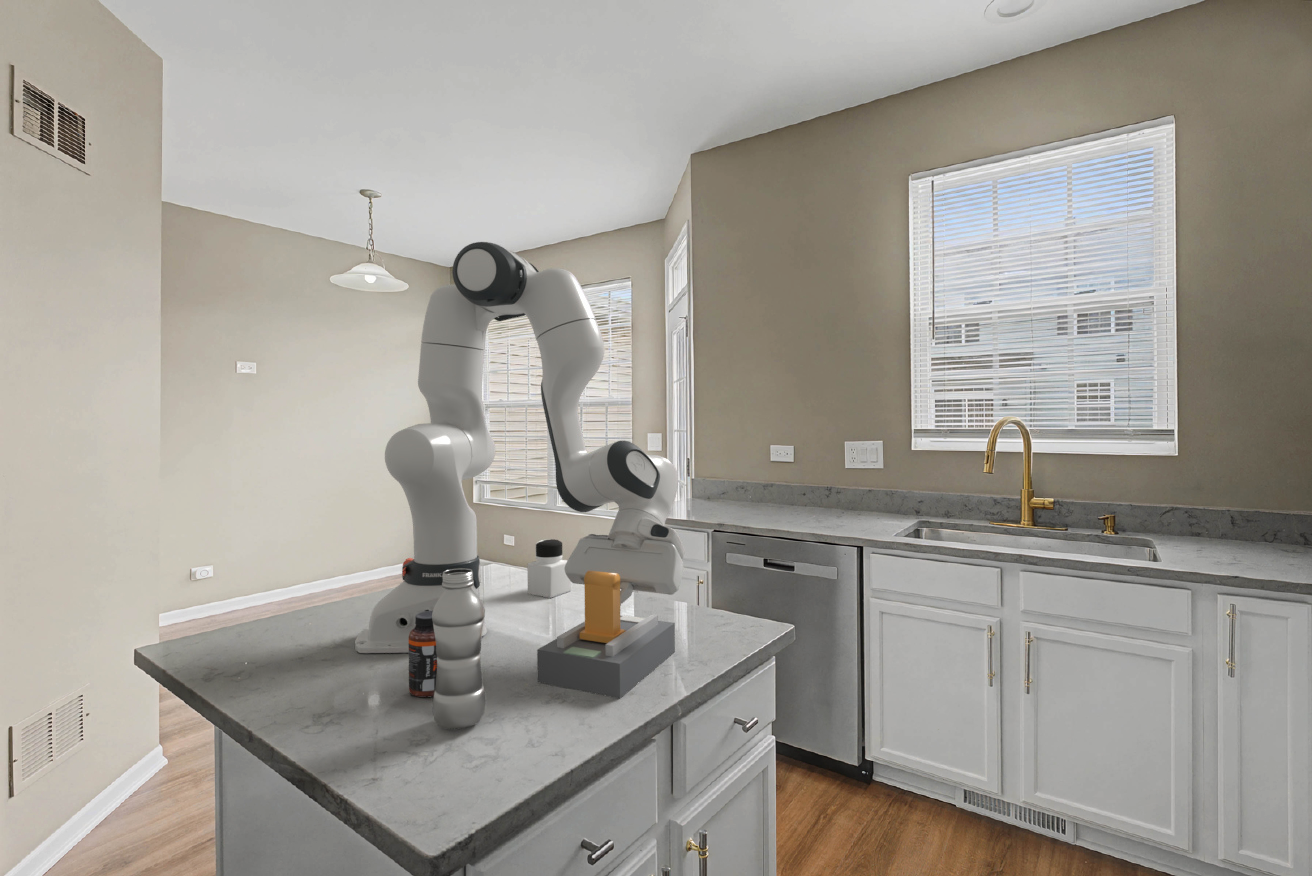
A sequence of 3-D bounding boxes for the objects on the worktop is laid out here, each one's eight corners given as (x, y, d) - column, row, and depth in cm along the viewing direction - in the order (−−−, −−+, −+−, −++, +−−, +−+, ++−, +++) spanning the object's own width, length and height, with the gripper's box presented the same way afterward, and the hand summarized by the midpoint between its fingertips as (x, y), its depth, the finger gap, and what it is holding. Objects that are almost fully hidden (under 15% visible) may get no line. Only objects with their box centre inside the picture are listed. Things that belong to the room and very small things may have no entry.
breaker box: (602, 640, 116) (602, 604, 116) (674, 652, 110) (674, 613, 110) (537, 682, 98) (537, 639, 97) (620, 698, 92) (619, 652, 92)
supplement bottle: (438, 700, 91) (437, 621, 91) (400, 697, 93) (399, 619, 92) (459, 683, 97) (458, 609, 97) (423, 680, 99) (422, 607, 98)
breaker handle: (592, 631, 105) (592, 567, 104) (625, 636, 102) (625, 571, 102) (579, 638, 101) (578, 573, 101) (613, 644, 98) (613, 576, 98)
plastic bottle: (439, 714, 87) (436, 566, 87) (490, 711, 88) (488, 565, 87) (426, 737, 81) (423, 578, 80) (481, 735, 81) (479, 577, 81)
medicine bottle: (571, 591, 149) (571, 539, 149) (550, 598, 143) (550, 544, 143) (548, 587, 153) (547, 536, 153) (527, 594, 147) (526, 541, 147)
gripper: (575, 523, 114) (544, 592, 105) (684, 531, 105) (660, 606, 97) (589, 543, 118) (560, 611, 109) (694, 553, 110) (671, 627, 101)
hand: (608, 609), depth 103 cm, fingers closed, pressing on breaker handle
